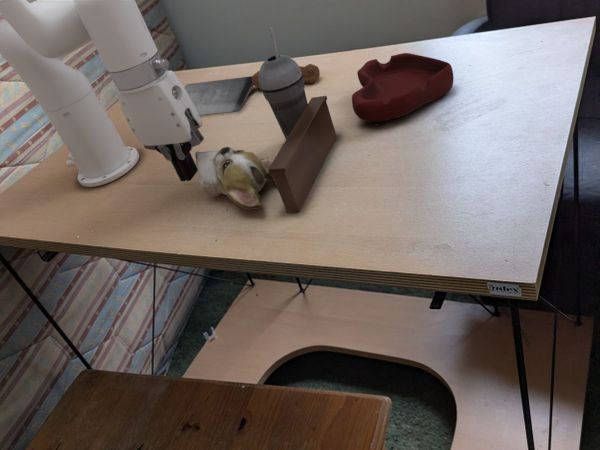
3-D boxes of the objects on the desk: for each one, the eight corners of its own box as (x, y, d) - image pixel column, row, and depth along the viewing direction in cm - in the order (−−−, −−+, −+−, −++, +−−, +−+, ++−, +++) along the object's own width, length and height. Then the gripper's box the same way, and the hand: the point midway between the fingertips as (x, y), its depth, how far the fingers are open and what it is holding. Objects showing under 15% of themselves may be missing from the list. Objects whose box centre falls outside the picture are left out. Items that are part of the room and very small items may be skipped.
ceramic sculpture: (212, 125, 89) (287, 133, 81) (230, 168, 95) (302, 180, 86) (169, 163, 83) (246, 176, 75) (190, 207, 89) (264, 224, 80)
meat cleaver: (166, 118, 122) (158, 102, 120) (191, 93, 130) (184, 77, 127) (304, 105, 107) (298, 86, 105) (323, 77, 115) (318, 59, 112)
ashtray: (457, 116, 86) (453, 87, 83) (355, 134, 91) (348, 107, 88) (453, 67, 100) (449, 41, 97) (364, 86, 105) (358, 61, 102)
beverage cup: (289, 133, 99) (251, 24, 87) (327, 129, 96) (293, 15, 84) (276, 156, 94) (233, 43, 82) (316, 152, 91) (277, 35, 79)
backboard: (285, 212, 80) (267, 169, 75) (324, 137, 94) (311, 97, 89) (301, 212, 79) (284, 168, 74) (338, 136, 93) (326, 95, 88)
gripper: (193, 53, 79) (238, 160, 90) (112, 67, 85) (163, 165, 96) (168, 78, 74) (219, 188, 84) (84, 90, 80) (141, 192, 91)
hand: (189, 176), depth 90 cm, fingers closed
